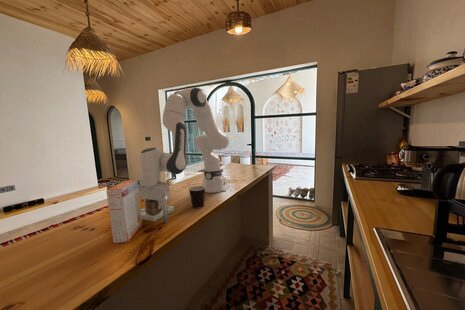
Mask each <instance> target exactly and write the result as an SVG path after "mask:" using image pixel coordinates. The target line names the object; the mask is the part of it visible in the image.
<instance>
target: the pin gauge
mask: <svg viewBox="0 0 465 310" xmlns="http://www.w3.org/2000/svg"><path fill="white" fill-rule="evenodd" d="M162 205H163V217H162V218H163V223H165V224H166V223H169V214H168V209H167V206H168V201H167V196H162Z"/></svg>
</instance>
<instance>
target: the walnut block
mask: <svg viewBox="0 0 465 310" xmlns="http://www.w3.org/2000/svg"><path fill="white" fill-rule="evenodd" d="M157 205H158V201H156V200H148V201H145V202H144V208H145V209H146V213H147V214H153V215H155V214H157V213H158V212H160V211H162V205H161V209H157V207H156V206H157Z"/></svg>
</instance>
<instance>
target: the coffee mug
mask: <svg viewBox="0 0 465 310" xmlns="http://www.w3.org/2000/svg"><path fill="white" fill-rule="evenodd" d="M188 191H189V197H190V203H191V208H193V209H201V208H203V207H204V206H205V195H206V192H205V187H203V185H197V186H192V187H189V189H188Z"/></svg>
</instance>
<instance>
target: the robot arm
mask: <svg viewBox="0 0 465 310" xmlns="http://www.w3.org/2000/svg"><path fill="white" fill-rule="evenodd" d="M186 109H187V110H188V109H192V111H193V114H194V118H195V121H196V124H197V128H198V130H200V131H202V132H203V133H202V134H198V135H196V136H195V138H194V146H195V148H197V149H198V150H199V152H200V153H201V156H202V158H203V166H204V170H203V176H204V177H203V178H202V186H203V187H205V193H214V194H215V193H220V192H226V191H227V190H228V189H229V188H230V186H231V184H230V183H228V182H227V177H226V176H224V174H223V173H224V168H221V158H220V156H218V155H217V154H216V153H215V151H220V150H221V151H222V150H226V149H227V148H228V147H229V144H230V140H229V137H228V135H226V134H225V133H224V132H222V131H221V130H220V128H219V127H218V125H217V124H216V122H215V119H214V116H213V115H214V114H213V112H212V108H211V106H210V103H209V101H208V100H207V94H206V92H205V91H204V89H203V88H201V87H189V88H184V89H180V90H177V91H175V92H174V93H171V94H170V95H169V96H168V97H167V100H166V102H165V105H164V109H163V114H162V124H163V126H164V128H166V129H167V130H168V131H170V132H171V133H172V135H173V145H172V146H173V147H172V152H171V153H170V152H169V153H168V152H164V151H161V150H159V149H158V148H157V147H148V148H144V149H143V150H141V152H140V155H139V165H140V170H141V174H140V176H141V178H138V179H137V180H138V188H139V198H140V200H142V199H143V201H144V203H145V201H148V200H156V201H158V205H157V206H156V207H157V209H161V205H162V196H167V202H168V201H170V200H171V199H172V194H171V189H170V186H169V183H167V182H166V181H162V176H161V172H166V173H169V174H174V175H180V174H182V173H183V172H184V170H185V169H186V167H187V157H186V152H187V151H186V149H187V127H186V125H185V117H186Z"/></svg>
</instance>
